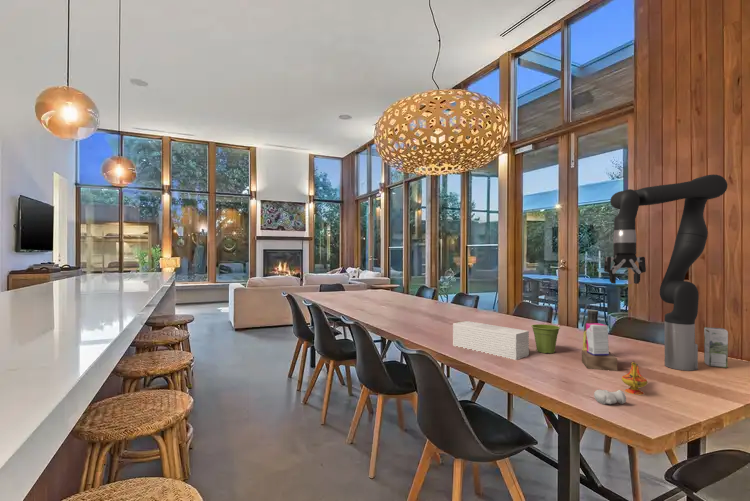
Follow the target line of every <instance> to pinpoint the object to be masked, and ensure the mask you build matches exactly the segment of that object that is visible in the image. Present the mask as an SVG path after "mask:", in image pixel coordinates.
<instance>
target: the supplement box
mask: <svg viewBox="0 0 750 501" xmlns="http://www.w3.org/2000/svg"><path fill="white" fill-rule="evenodd" d="M586 335H587V352H588V353H590V354H592V355H593V356H605V355H609V352H610V351H609V330H608V325H607V324H604V323H599V322H598V323H592V324H586Z"/></svg>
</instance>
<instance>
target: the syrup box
mask: <svg viewBox="0 0 750 501" xmlns="http://www.w3.org/2000/svg"><path fill="white" fill-rule="evenodd" d="M703 330H704V332H703V334H704V335H703V336H704V339H703V341H704V342H703V344H704V346H703V347H704V349H703V350H704V351H703V353H704V354H703V358H704V359H703V362H704V363H705V365H707V366H708V367H714V368H715V367H716V368H723V369H724V368H728V361H729V358H728V357H729V355H728V354H729V348H728V347H729V344H728V343H729V331H728V330H727V329H725V328H723V327H706V326H705V327H704V329H703Z"/></svg>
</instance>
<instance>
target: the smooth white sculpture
mask: <svg viewBox="0 0 750 501" xmlns="http://www.w3.org/2000/svg"><path fill="white" fill-rule="evenodd" d="M593 397H594V399H595V400H596V402H597V403H599V404H601V405H613V404H616V403H618V404H620V405H623V404H625V403H627V396H626V393H625V392H624V391H622V390H620V389H618V390H617V391H609V390H607V389H597V390H595V391H594V392H593Z"/></svg>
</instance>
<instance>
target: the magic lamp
mask: <svg viewBox="0 0 750 501" xmlns="http://www.w3.org/2000/svg"><path fill="white" fill-rule="evenodd" d="M621 380H622V383H623V384H625V385H626V386H628V387H629V388H625V389H624V391H625V393H628V394H630V395H636V396H642V395H645V392H643V391H642V390H640V388H644V387H646V386H647V385H648V379H646V378H645V377H644V376H643V375H642V374H641V372H640V368H639V364H638V363H636V362H635V361H633V362H631V367H630V370H629V372H628V373H627V374H624V375H622V376H621Z"/></svg>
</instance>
